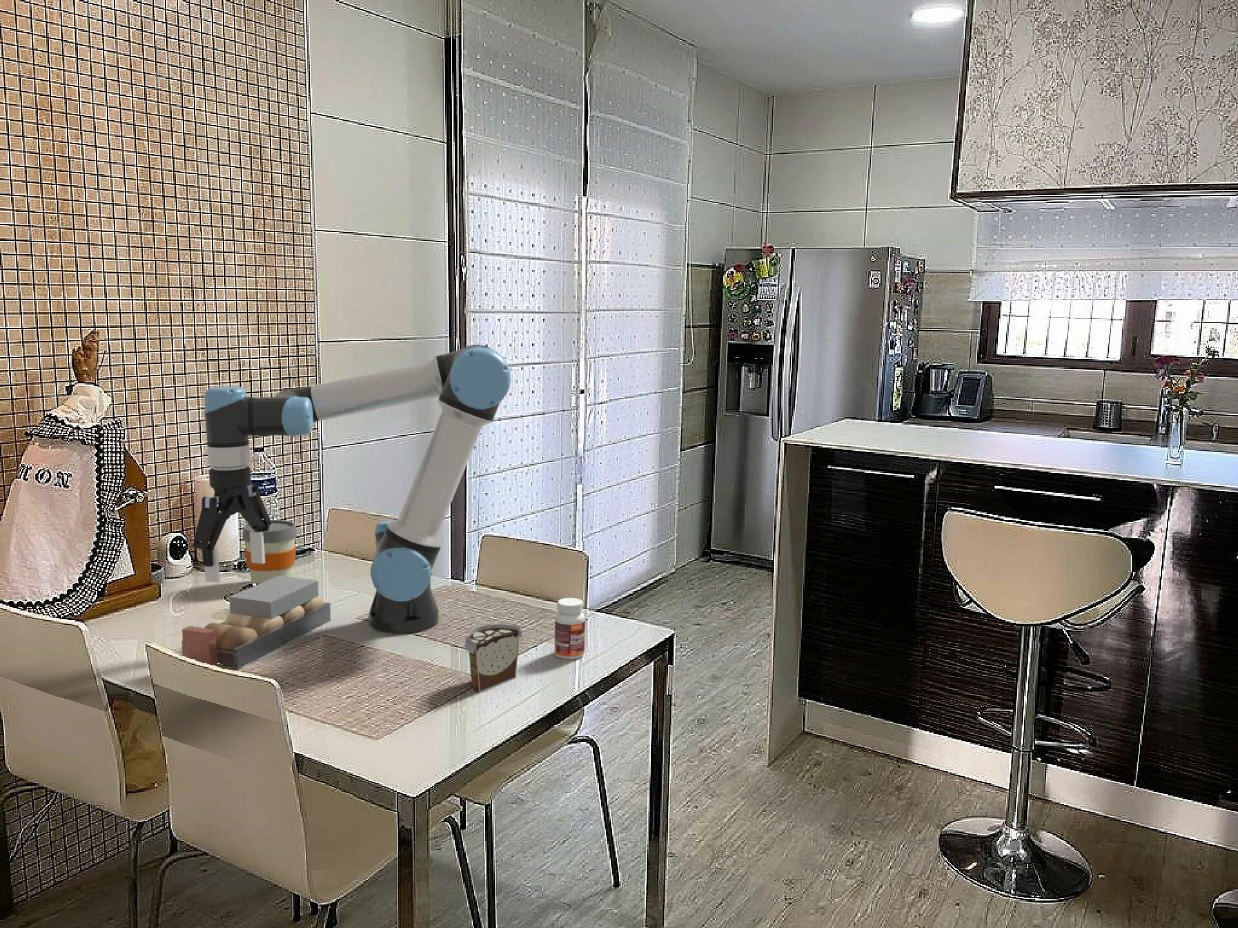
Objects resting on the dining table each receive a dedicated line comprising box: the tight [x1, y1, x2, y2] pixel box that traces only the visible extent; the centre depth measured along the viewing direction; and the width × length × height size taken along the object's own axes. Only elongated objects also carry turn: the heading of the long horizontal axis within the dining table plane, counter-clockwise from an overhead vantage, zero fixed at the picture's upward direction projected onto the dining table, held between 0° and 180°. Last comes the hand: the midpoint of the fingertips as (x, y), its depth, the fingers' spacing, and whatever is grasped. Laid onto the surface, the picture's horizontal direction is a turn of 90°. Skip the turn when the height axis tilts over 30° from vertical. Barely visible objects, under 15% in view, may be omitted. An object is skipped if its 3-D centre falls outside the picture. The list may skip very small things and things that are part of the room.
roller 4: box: [299, 595, 325, 613], centre depth 205 cm, size 10×6×6 cm, turn 73°
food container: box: [464, 623, 523, 694], centre depth 175 cm, size 12×6×10 cm, turn 141°
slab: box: [228, 576, 319, 619], centre depth 198 cm, size 10×16×4 cm, turn 163°
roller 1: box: [203, 622, 258, 652], centre depth 185 cm, size 9×6×6 cm, turn 73°
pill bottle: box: [554, 597, 586, 661], centre depth 189 cm, size 6×6×11 cm
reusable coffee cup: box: [242, 519, 298, 584], centre depth 229 cm, size 13×13×15 cm
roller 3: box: [279, 606, 305, 623], centre depth 198 cm, size 10×6×6 cm, turn 73°
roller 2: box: [224, 612, 284, 636], centre depth 192 cm, size 10×6×6 cm, turn 73°
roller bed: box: [181, 602, 332, 670], centre depth 192 cm, size 13×34×8 cm, turn 163°
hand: (236, 572), depth 185 cm, fingers open, 13 cm apart
